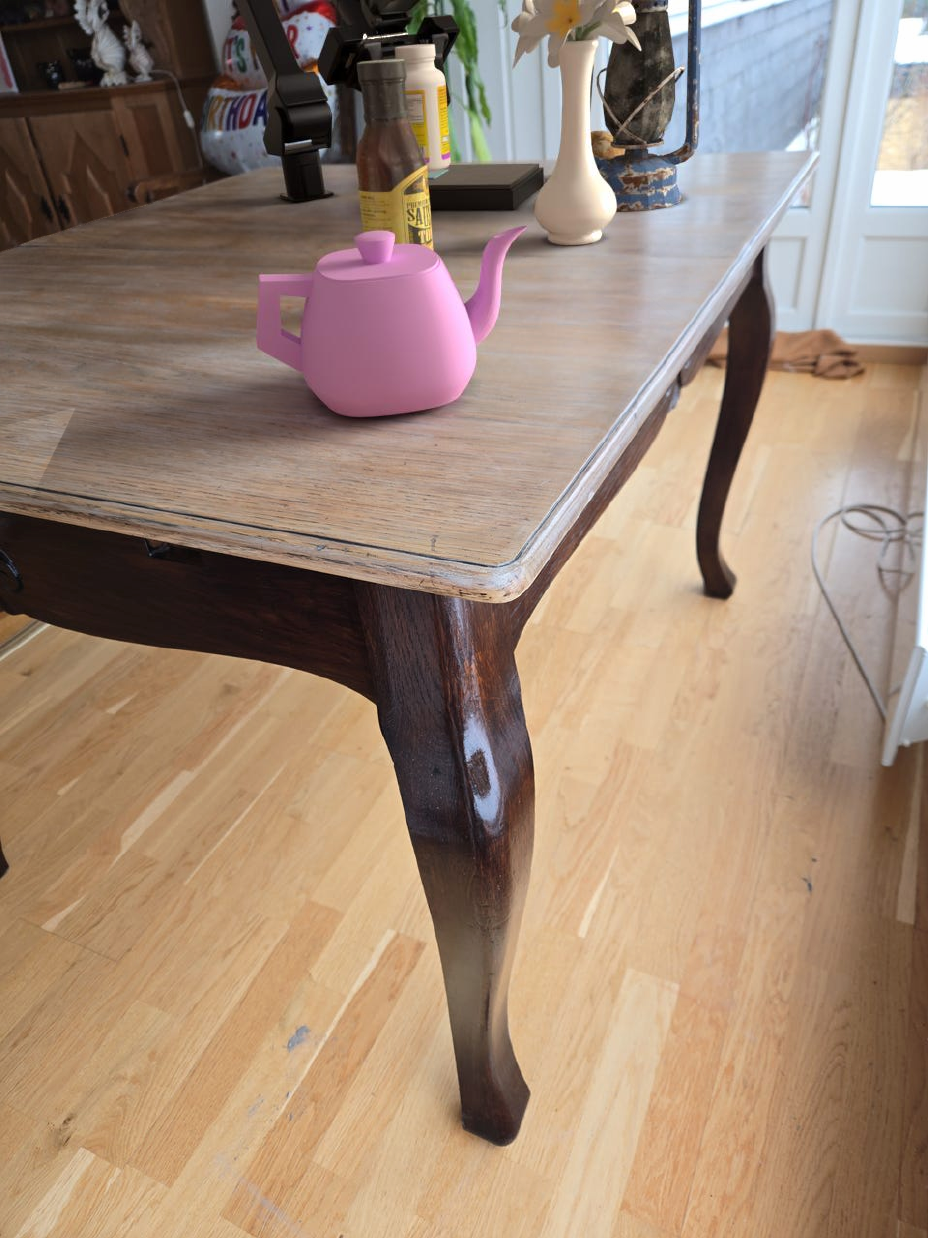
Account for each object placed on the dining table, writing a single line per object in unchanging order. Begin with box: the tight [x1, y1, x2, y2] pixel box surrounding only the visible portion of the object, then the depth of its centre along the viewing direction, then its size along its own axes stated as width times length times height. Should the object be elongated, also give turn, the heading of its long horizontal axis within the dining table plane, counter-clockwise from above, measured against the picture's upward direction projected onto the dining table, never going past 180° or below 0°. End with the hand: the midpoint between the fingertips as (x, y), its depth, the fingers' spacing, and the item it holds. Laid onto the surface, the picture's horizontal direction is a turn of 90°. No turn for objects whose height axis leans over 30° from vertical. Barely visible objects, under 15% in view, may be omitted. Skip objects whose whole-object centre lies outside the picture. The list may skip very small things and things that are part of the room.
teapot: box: [255, 225, 528, 418], centre depth 62 cm, size 13×20×11 cm
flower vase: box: [510, 0, 641, 246], centre depth 92 cm, size 13×18×25 cm
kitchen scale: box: [427, 163, 545, 211], centre depth 121 cm, size 16×16×3 cm
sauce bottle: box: [355, 59, 434, 251], centre depth 76 cm, size 7×6×20 cm
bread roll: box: [591, 130, 626, 159], centre depth 126 cm, size 10×10×8 cm
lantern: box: [590, 0, 702, 212], centre depth 105 cm, size 15×12×30 cm
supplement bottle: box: [395, 44, 452, 173], centre depth 104 cm, size 7×7×13 cm
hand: (427, 108), depth 103 cm, fingers closed on supplement bottle, 6 cm apart
